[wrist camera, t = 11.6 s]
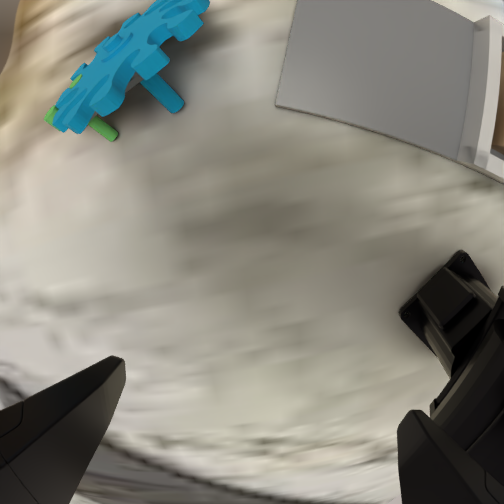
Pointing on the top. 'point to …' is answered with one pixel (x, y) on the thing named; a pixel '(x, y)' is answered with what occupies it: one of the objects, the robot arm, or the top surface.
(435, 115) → the gray plate
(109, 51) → the gear
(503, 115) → the cardboard box
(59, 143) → the top surface
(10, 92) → the top surface
